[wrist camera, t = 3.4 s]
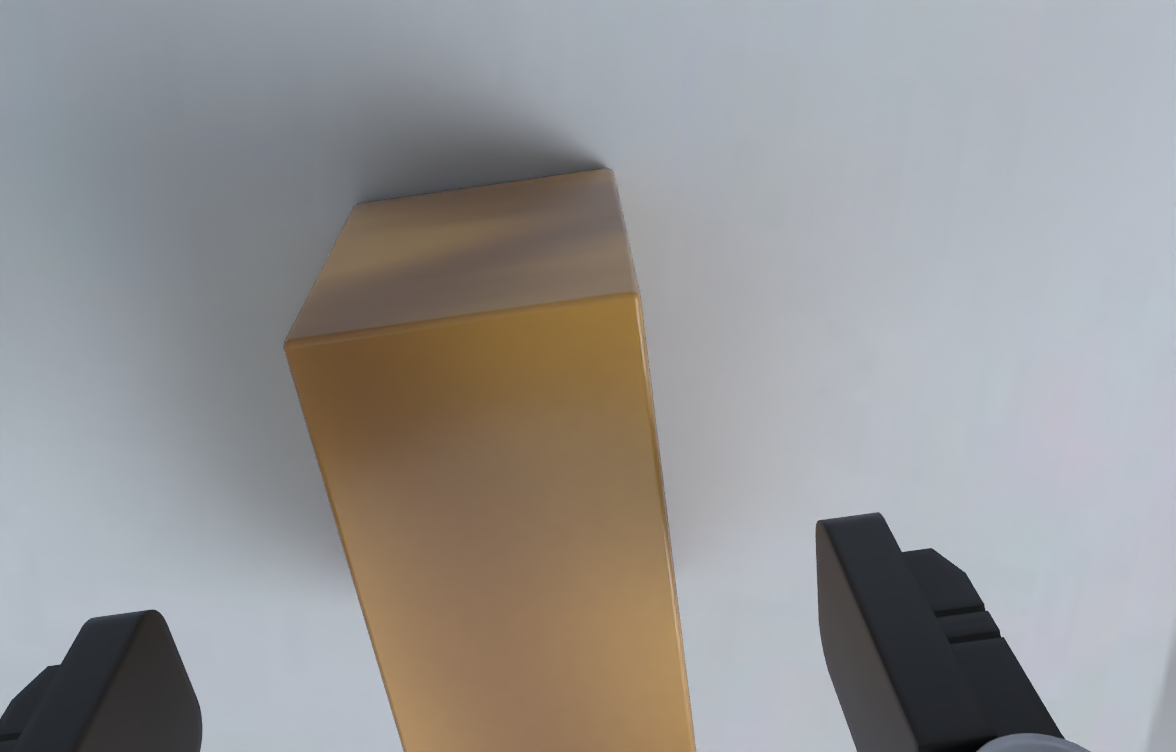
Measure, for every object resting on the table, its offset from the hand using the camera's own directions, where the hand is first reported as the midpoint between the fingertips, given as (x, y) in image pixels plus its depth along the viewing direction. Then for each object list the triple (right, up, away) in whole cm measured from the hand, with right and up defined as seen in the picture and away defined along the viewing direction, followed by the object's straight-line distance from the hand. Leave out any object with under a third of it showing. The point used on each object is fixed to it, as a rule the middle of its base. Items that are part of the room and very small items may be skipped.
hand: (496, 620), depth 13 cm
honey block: (0, +2, +5) cm, 5 cm away
